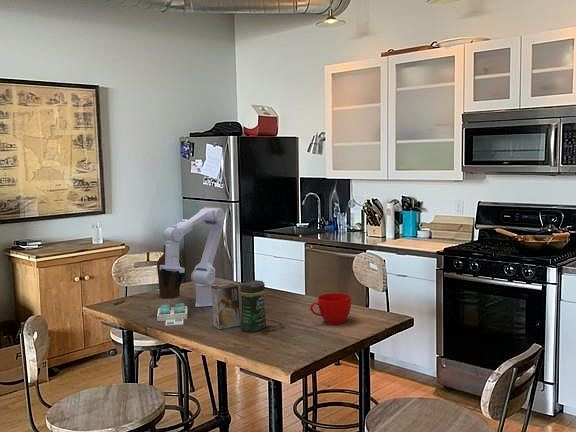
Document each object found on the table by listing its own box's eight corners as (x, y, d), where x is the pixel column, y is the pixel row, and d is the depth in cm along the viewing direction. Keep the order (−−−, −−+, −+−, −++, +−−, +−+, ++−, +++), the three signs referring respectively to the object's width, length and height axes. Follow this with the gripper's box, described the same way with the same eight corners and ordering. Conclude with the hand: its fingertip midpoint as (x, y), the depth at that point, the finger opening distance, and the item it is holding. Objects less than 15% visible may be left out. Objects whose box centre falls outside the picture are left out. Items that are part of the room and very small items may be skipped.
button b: (184, 312, 248) (184, 306, 247) (184, 314, 244) (183, 308, 244) (175, 312, 247) (174, 306, 247) (174, 315, 243) (174, 309, 243)
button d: (169, 313, 247) (169, 307, 247) (169, 315, 243) (169, 309, 243) (160, 313, 246) (160, 307, 246) (160, 316, 242) (159, 310, 242)
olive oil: (185, 296, 283) (182, 244, 280) (164, 300, 277) (161, 247, 274) (175, 292, 291) (172, 242, 289) (154, 296, 285) (151, 245, 282)
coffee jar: (253, 333, 220) (251, 284, 218) (237, 330, 225) (235, 282, 223) (270, 327, 228) (268, 280, 226) (254, 324, 233) (252, 277, 231)
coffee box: (234, 322, 237) (232, 282, 235) (240, 325, 231) (239, 285, 229) (213, 325, 233) (211, 285, 231) (218, 329, 227) (216, 288, 225)
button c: (170, 309, 253) (170, 303, 252) (170, 311, 249) (169, 305, 249) (161, 310, 252) (160, 304, 252) (160, 312, 248) (160, 306, 248)
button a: (184, 308, 254) (184, 302, 253) (184, 310, 250) (184, 304, 250) (175, 309, 253) (175, 303, 253) (175, 311, 249) (174, 305, 249)
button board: (187, 311, 255) (187, 305, 255) (187, 319, 243) (186, 313, 243) (159, 313, 253) (158, 308, 253) (157, 321, 241) (157, 315, 241)
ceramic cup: (304, 321, 234) (303, 296, 233) (341, 315, 240) (341, 291, 239) (318, 330, 222) (317, 304, 221) (357, 323, 229) (357, 298, 228)
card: (183, 319, 243) (183, 318, 242) (183, 324, 236) (183, 323, 236) (166, 321, 241) (166, 319, 241) (165, 325, 235) (165, 324, 235)
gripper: (154, 255, 251) (153, 287, 252) (175, 258, 242) (174, 291, 242) (167, 254, 256) (166, 285, 257) (188, 257, 247) (188, 289, 247)
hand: (171, 288), depth 250 cm, fingers open, 7 cm apart
